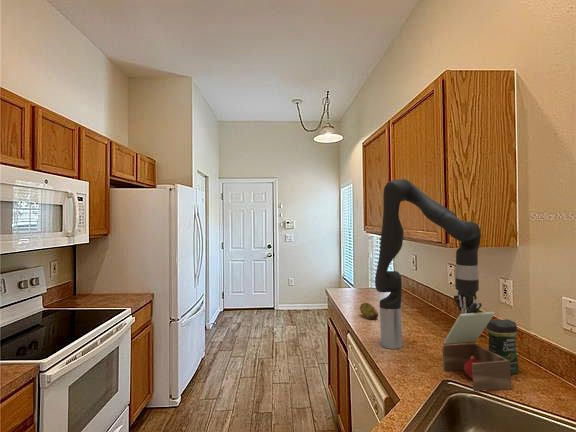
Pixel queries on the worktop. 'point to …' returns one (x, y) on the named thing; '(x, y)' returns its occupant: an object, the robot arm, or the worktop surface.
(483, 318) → the lid
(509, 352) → the coffee jar
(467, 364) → the onion
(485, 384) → the cubby
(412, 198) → the robot arm
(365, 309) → the avocado
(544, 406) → the worktop surface
